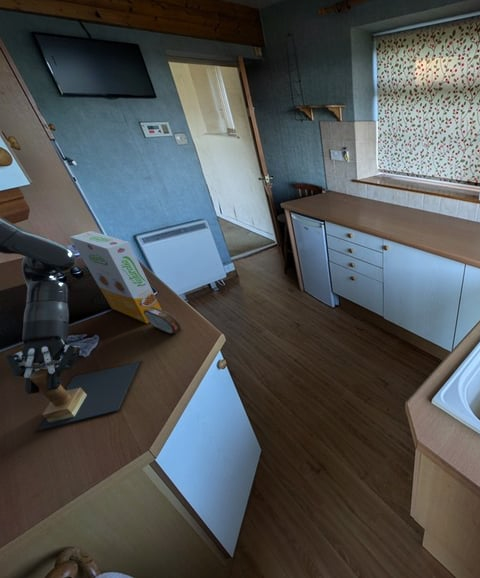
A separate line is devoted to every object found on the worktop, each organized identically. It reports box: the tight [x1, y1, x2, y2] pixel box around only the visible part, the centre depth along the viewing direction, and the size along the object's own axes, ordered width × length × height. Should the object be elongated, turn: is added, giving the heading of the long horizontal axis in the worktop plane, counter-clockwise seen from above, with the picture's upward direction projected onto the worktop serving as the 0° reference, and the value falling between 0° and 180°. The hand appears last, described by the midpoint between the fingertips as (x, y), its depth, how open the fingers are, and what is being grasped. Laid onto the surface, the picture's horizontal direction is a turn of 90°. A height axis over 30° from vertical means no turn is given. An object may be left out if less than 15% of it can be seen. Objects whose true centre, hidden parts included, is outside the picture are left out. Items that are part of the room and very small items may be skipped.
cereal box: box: [69, 230, 163, 324], centre depth 106 cm, size 22×6×30 cm, turn 65°
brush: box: [29, 368, 87, 422], centre depth 73 cm, size 5×7×13 cm
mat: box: [38, 362, 140, 432], centre depth 81 cm, size 16×18×1 cm
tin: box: [144, 306, 182, 335], centre depth 103 cm, size 15×3×8 cm, turn 65°
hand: (43, 391), depth 70 cm, fingers closed on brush, 3 cm apart
